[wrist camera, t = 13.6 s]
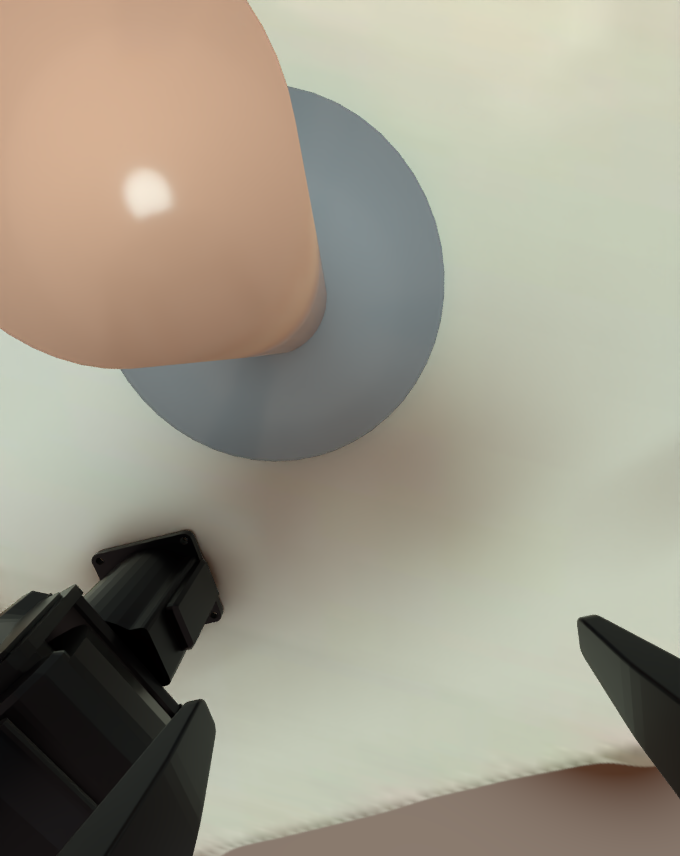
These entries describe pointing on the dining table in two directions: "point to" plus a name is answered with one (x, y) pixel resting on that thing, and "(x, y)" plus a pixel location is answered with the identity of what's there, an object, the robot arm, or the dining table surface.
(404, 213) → the plate
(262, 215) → the peach cylinder
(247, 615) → the dining table surface
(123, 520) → the dining table surface
